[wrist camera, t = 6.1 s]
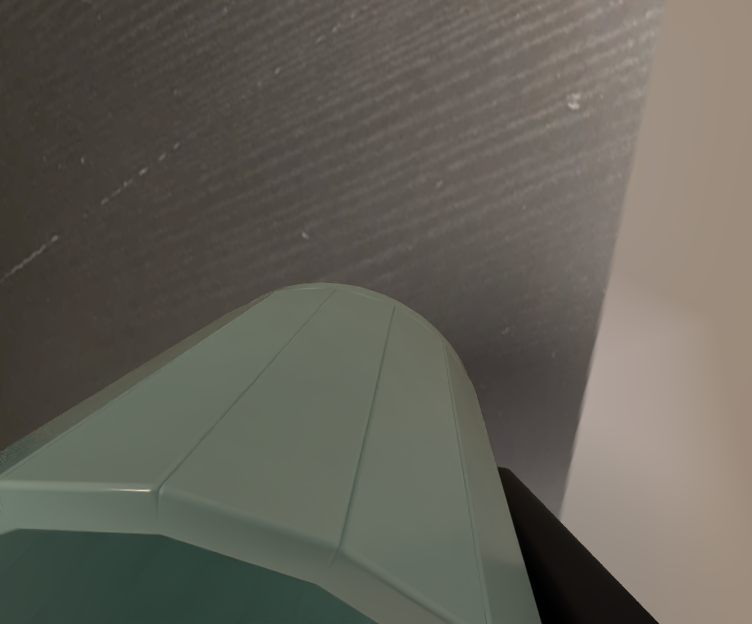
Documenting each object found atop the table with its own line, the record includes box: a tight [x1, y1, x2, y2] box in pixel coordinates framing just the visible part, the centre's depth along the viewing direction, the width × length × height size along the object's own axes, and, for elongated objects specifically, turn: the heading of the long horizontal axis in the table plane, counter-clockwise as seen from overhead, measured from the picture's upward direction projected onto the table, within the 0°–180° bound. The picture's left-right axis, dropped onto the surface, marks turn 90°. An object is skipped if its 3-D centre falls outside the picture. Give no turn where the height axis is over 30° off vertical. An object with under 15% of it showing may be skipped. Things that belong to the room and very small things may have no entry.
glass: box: [0, 282, 542, 624], centre depth 6 cm, size 7×7×6 cm
